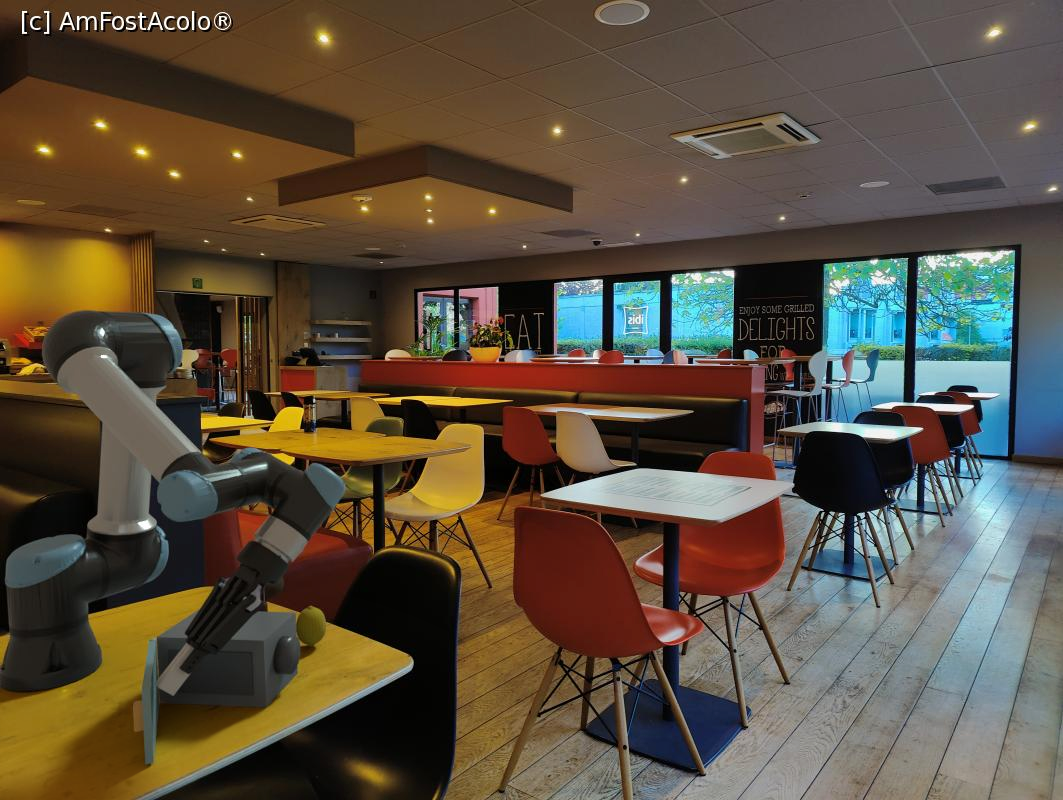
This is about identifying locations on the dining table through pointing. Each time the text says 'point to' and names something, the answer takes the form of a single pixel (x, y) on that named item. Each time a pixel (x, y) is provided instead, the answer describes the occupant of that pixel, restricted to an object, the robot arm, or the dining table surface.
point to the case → (236, 663)
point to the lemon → (311, 626)
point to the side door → (148, 703)
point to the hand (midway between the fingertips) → (164, 689)
